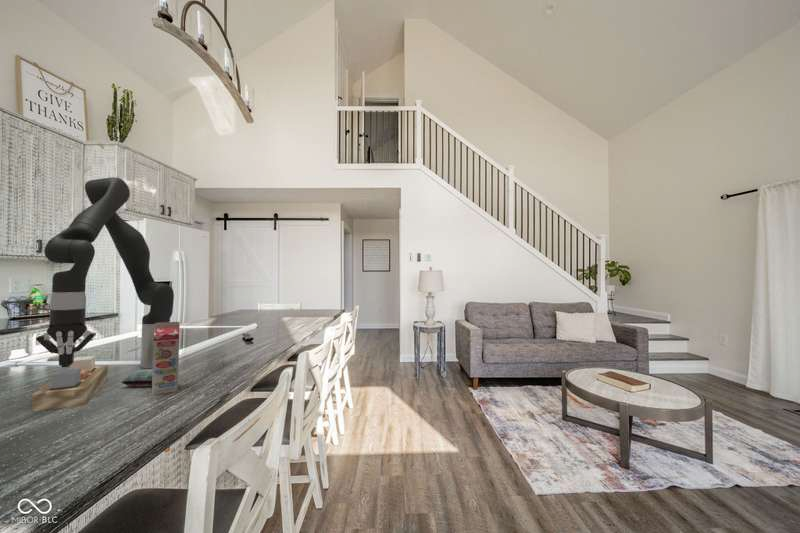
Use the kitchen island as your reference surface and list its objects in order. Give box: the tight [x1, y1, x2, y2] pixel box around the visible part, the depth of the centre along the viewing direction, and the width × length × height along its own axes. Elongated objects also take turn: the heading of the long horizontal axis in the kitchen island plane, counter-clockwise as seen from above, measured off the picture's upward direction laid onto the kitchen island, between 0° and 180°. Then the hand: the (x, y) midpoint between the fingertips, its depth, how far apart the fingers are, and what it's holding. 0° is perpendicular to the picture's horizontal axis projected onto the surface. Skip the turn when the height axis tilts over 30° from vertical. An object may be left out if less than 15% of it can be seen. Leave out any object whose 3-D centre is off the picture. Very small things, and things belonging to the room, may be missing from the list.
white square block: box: [69, 355, 96, 372], centre depth 113 cm, size 5×5×4 cm
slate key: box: [51, 368, 81, 389], centre depth 99 cm, size 5×5×4 cm
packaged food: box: [120, 368, 153, 387], centre depth 116 cm, size 9×12×5 cm
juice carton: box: [151, 321, 180, 396], centre depth 111 cm, size 7×7×22 cm
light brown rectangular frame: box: [31, 365, 109, 413], centre depth 106 cm, size 11×26×5 cm, turn 30°
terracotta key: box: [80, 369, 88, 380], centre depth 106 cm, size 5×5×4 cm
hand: (65, 366), depth 99 cm, fingers closed
